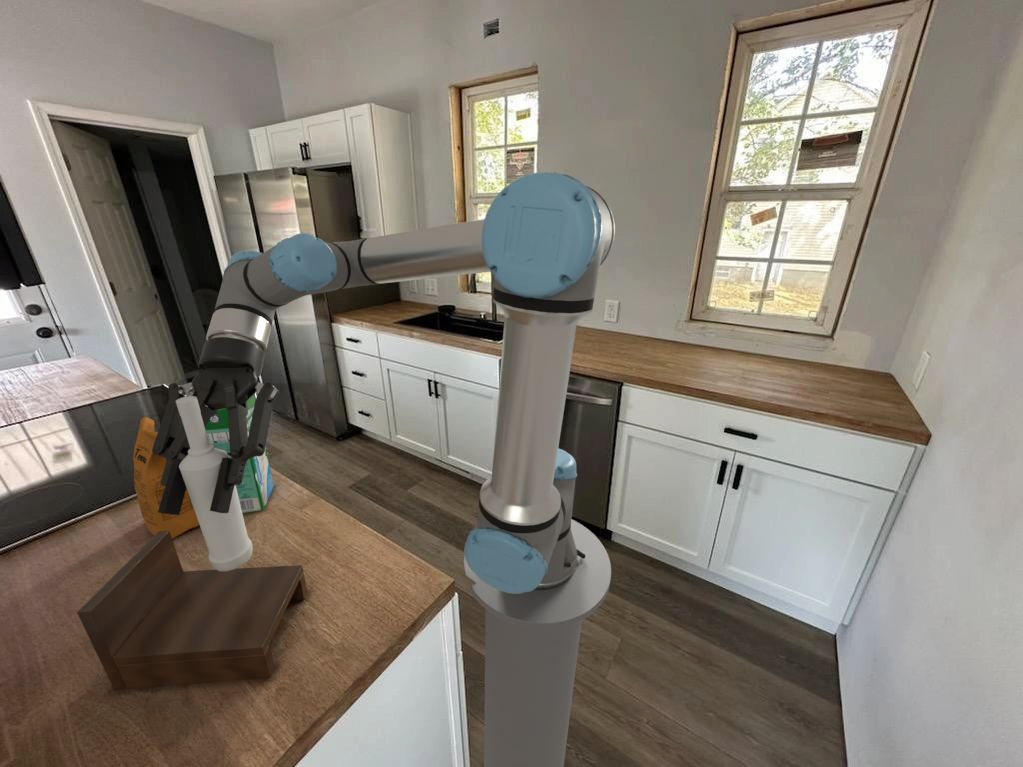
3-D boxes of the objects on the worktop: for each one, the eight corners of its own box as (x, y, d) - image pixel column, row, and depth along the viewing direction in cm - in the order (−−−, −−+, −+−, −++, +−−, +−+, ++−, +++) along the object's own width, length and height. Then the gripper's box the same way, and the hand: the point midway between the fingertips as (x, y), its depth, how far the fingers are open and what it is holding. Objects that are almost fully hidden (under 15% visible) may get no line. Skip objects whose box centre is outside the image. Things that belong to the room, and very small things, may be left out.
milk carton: (230, 491, 94) (203, 390, 85) (274, 486, 96) (253, 387, 87) (215, 517, 85) (184, 408, 77) (263, 510, 88) (238, 404, 79)
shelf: (307, 592, 69) (294, 525, 64) (270, 678, 56) (250, 601, 51) (182, 599, 67) (158, 530, 62) (114, 690, 54) (76, 612, 49)
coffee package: (199, 497, 91) (173, 407, 83) (218, 522, 84) (191, 426, 76) (141, 519, 84) (106, 423, 76) (157, 549, 77) (120, 446, 69)
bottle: (261, 554, 60) (220, 397, 50) (223, 578, 56) (171, 412, 46) (241, 540, 62) (199, 388, 53) (203, 562, 58) (150, 401, 49)
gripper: (310, 359, 64) (283, 513, 55) (186, 359, 63) (137, 518, 53) (291, 334, 58) (257, 506, 48) (151, 333, 56) (87, 511, 46)
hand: (194, 512), depth 51 cm, fingers closed on bottle, 5 cm apart
